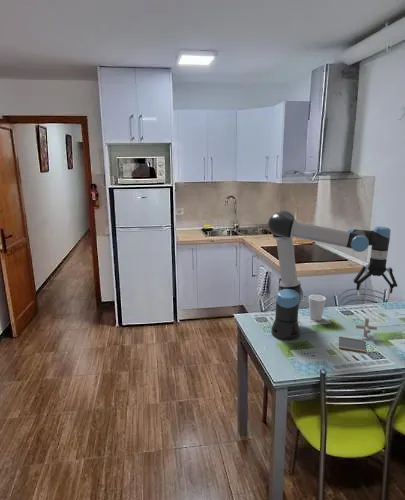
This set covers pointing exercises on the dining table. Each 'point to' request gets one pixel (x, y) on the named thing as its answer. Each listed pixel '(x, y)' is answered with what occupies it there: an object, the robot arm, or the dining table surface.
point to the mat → (352, 344)
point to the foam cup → (316, 306)
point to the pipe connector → (366, 327)
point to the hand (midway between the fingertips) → (373, 297)
